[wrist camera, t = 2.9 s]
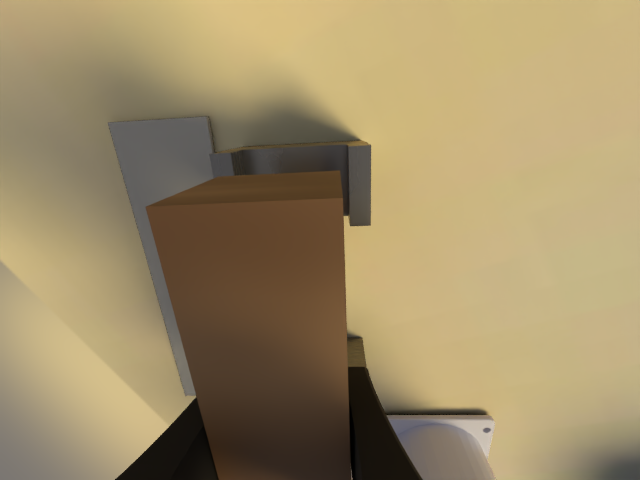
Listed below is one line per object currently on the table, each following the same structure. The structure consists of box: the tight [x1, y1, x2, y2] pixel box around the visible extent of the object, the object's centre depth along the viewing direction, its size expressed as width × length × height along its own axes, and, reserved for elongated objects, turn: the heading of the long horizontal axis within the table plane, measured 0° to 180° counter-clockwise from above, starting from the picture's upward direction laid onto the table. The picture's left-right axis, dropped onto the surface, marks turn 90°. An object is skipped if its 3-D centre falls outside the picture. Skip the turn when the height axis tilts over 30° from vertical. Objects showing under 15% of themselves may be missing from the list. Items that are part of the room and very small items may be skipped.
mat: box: [108, 117, 215, 396], centre depth 18 cm, size 18×5×1 cm, turn 3°
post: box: [209, 140, 371, 226], centre depth 13 cm, size 3×6×4 cm, turn 93°
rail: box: [146, 171, 351, 480], centre depth 9 cm, size 14×4×4 cm, turn 3°
